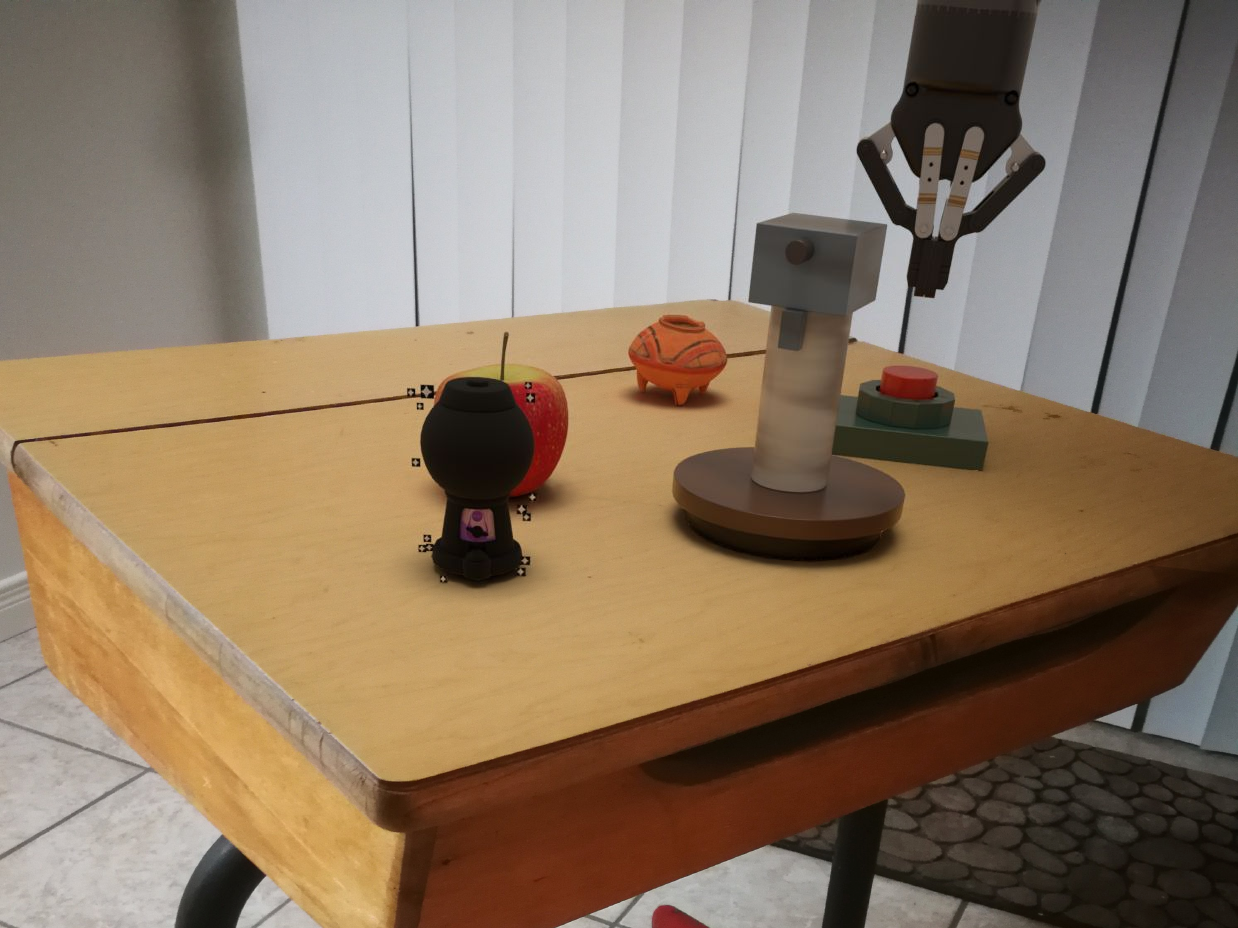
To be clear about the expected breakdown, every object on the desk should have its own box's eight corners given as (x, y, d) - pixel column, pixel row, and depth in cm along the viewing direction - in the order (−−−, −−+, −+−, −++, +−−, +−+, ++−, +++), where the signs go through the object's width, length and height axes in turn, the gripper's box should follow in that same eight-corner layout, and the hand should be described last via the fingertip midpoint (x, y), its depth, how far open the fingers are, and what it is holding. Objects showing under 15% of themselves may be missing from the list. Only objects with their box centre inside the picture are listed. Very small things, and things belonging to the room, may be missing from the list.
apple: (441, 515, 76) (438, 340, 71) (429, 471, 83) (425, 309, 78) (576, 513, 78) (583, 342, 73) (553, 470, 85) (558, 312, 80)
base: (881, 506, 83) (885, 486, 82) (879, 571, 73) (883, 550, 72) (699, 485, 84) (701, 465, 83) (672, 546, 74) (674, 524, 73)
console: (975, 438, 98) (987, 385, 96) (982, 472, 90) (994, 415, 88) (820, 421, 99) (827, 368, 97) (813, 453, 92) (821, 397, 90)
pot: (675, 375, 108) (696, 296, 103) (730, 420, 104) (755, 340, 99) (599, 381, 104) (618, 299, 99) (654, 428, 100) (676, 345, 95)
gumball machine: (408, 586, 67) (402, 391, 61) (415, 546, 72) (410, 362, 66) (536, 590, 67) (542, 397, 62) (534, 549, 72) (538, 368, 67)
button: (933, 393, 94) (937, 368, 94) (934, 406, 91) (939, 380, 90) (878, 387, 95) (883, 362, 94) (878, 400, 92) (882, 375, 91)
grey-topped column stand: (721, 452, 85) (748, 198, 77) (926, 491, 81) (977, 225, 72) (634, 509, 74) (654, 220, 66) (865, 558, 70) (917, 254, 61)
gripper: (1078, 11, 82) (1015, 296, 92) (873, -5, 84) (832, 277, 93) (1092, 10, 76) (1023, 315, 86) (871, -7, 78) (826, 295, 87)
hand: (923, 295), depth 89 cm, fingers closed
